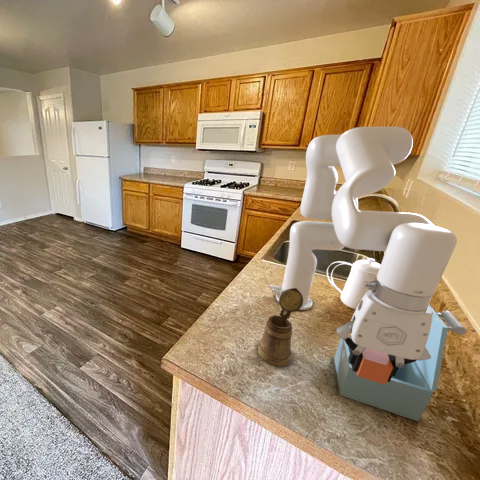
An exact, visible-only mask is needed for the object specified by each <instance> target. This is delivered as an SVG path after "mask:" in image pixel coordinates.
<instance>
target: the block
mask: <svg viewBox="0 0 480 480" xmlns="http://www.w3.org/2000/svg"><path fill="white" fill-rule="evenodd" d="M361 355H362V360H361V363H360V366H359V368H358V371H356V372H357V376H358V377H362V378H365V379H368V380H371V381H374V382H378V383H381V384H384V385H386V383H387V380H388V378H389V376H390V374H391V371H392V369H393V366H392V363H391V361H390V358H389V356H388V354H386V353H383V352H379V351H375V350H372V349H368V348H365V349H364V350H363V352H362V353H361Z"/></svg>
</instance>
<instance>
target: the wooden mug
mask: <svg viewBox="0 0 480 480" xmlns="http://www.w3.org/2000/svg"><path fill="white" fill-rule="evenodd" d="M278 303H279V306H280V308H281V310H280V313H279V315H277V314H273V315H270V316H269V317H268V319H267V320H266V322H265V325H264V332H263V333H262V337H261V340H260V341H259V344H258V347H257V353H258V355H259V357H260V358H261V359H262V360H264V361H265V362H266V363H269V364H271V365H273V366H278V367H284V366H288V365H289V364H290V362H291V360H292V347H291V346H292V335H293V323H292V322H291V321H290V320H289V319H290V316H291V314H292V313H294V312H297V311H300V310H299V309H300V308H301V306H302V304H303V297H302V294H301V293H300V292H299V290H298V289H297V288H292V289H288V290H285V291H283V292H282V294H281V296H280V299H279V301H278Z"/></svg>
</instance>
